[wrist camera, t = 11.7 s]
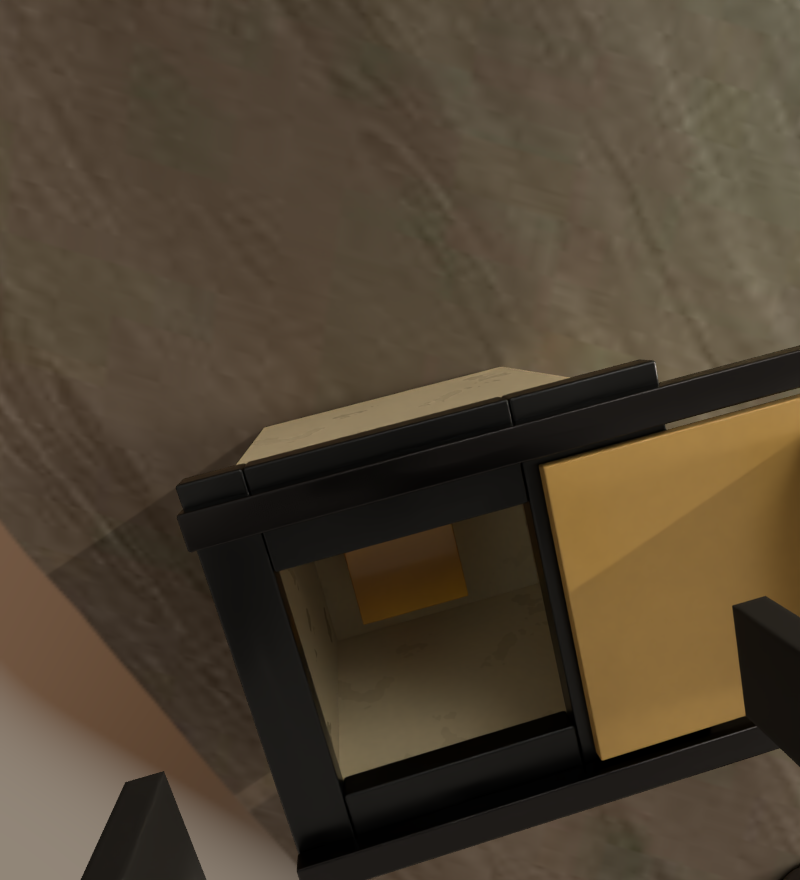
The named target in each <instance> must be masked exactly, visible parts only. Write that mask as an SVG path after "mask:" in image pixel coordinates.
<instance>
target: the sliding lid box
mask: <svg viewBox="0 0 800 880" xmlns="http://www.w3.org/2000/svg"><path fill="white" fill-rule="evenodd" d="M796 388H800V345H799V346H796V347H792V348H788V349H784V350H781V351H777V352H773V353H769V354H765V355H762V356H758V357H754V358H750V359H747V360H743V361H739V362H735V363H732V364H728V365H724V366H720V367H716V368H713V369H709V370H705V371H701V372H698V373H694V374H690V375H686V376H683V377H679V378H675V379H671V380H667V381H664V382H660V383H659V382H658V376H657V369H656V363H655V361H652V360H636V361H632V362H628V363H624V364H621V365H617V366H613V367H609V368H605V369H602V370H598V371H594V372H590V373H586V374H582V375H579V376H575V377H571V378H569V377H563V376H557V375H550V374H544V373H538V372H531V371H525V370H519V369H513V368H506V367H497V368H494V369H490V370H486V371H482V372H478V373H474V374H470V375H466V376H462V377H459V378H455V379H451V380H447V381H443V382H439V383H435V384H431V385H428V386H424V387H420V388H416V389H412V390H408V391H404V392H400V393H397V394H393V395H389V396H385V397H381V398H377V399H373V400H369V401H365V402H362V403H358V404H354V405H350V406H346V407H342V408H338V409H334V410H331V411H327V412H323V413H319V414H315V415H311V416H307V417H303V418H300V419H296V420H292V421H288V422H284V423H280V424H276V425H272V426H268V427H265V428H264V429H263V430H262V431H261V433H260V434H259V435H258V437H257V438H256V439H255V440H254V442H253V443H252V444H251V446H250V447H249V448H248V450H247V451H246V452H245V453H244V455H243V456H242V457H241V459H240V460H239V461H238V463H237V464H236V465H234V466H230V467H227V468H223V469H219V470H215V471H211V472H208V473H204V474H200V475H196V476H192V477H188V478H185V479H183V480H182V481H181V482H180V483H179V484H178V485H177V486H176V490H177V493H178V496H179V499H180V502H181V505H182V508H183V510H182V511H181V512H180V513H179V514H178V515H177V520H178V523H179V526H180V529H181V532H182V535H183V538H184V541H185V544H186V546H187V549H188V551H189V552H195V551H197V553H198V556H199V559H200V562H201V565H202V568H203V571H204V574H205V577H206V580H207V583H208V586H209V589H210V592H211V595H212V598H213V600H214V603H215V606H216V609H217V612H218V615H219V618H220V621H221V624H222V627H223V630H224V633H225V636H226V639H227V642H228V645H229V648H230V651H231V654H232V657H233V660H234V663H235V666H236V669H237V672H238V675H239V678H240V681H241V684H242V687H243V690H244V693H245V696H246V699H247V702H248V705H249V708H250V711H251V714H252V717H253V720H254V723H255V726H256V729H257V732H258V735H259V738H260V741H261V744H262V747H263V749H264V752H265V755H266V758H267V761H268V764H269V767H270V770H271V773H272V776H273V779H274V782H275V785H276V788H277V791H278V794H279V797H280V800H281V803H282V806H283V809H284V812H285V815H286V818H287V821H288V824H289V827H290V830H291V833H292V836H293V839H294V842H295V845H296V848H297V851H298V861H297V873H298V877H299V880H368V879H371V878H374V877H377V876H380V875H384V874H387V873H390V872H393V871H396V870H399V869H402V868H406V867H409V866H412V865H415V864H418V863H421V862H424V861H427V860H431V859H434V858H437V857H440V856H443V855H446V854H449V853H453V852H456V851H459V850H462V849H465V848H468V847H471V846H475V845H478V844H481V843H484V842H487V841H490V840H493V839H496V838H500V837H503V836H506V835H509V834H512V833H515V832H518V831H522V830H525V829H528V828H531V827H534V826H537V825H540V824H543V823H547V822H550V821H553V820H556V819H559V818H562V817H565V816H569V815H572V814H575V813H578V812H581V811H584V810H587V809H591V808H594V807H597V806H600V805H603V804H606V803H609V802H612V801H616V800H619V799H622V798H625V797H628V796H631V795H634V794H638V793H641V792H644V791H647V790H650V789H653V788H656V787H659V786H663V785H666V784H669V783H672V782H675V781H678V780H681V779H685V778H688V777H691V776H694V775H697V774H700V773H703V772H707V771H710V770H713V769H716V768H719V767H722V766H725V765H728V764H732V763H735V762H738V761H741V760H744V759H747V758H750V757H754V756H757V755H760V754H763V753H766V752H769V751H772V750H775V749H779V747H778V746H777V745H776V744H775V743H774V742H773V741H772V740H771V739H770V738H769V737H768V736H767V735H766V734H764V733H763V732H762V731H761V730H760V729H759V728H758V727H757V726H756V725H755V724H754V723H753V722H752V721H751V720H750V719H749V718H747V717H746V716H743V717H740V718H737V719H734V720H731V721H727V722H724V723H721V724H718V725H715V726H711V727H708V728H705V729H702V730H699V731H695V732H692V733H689V734H686V735H683V736H679V737H676V738H673V739H670V740H667V741H664V742H660V743H657V744H654V745H651V746H648V747H644V748H641V749H638V750H635V751H632V752H628V753H625V754H622V755H619V756H616V757H612V758H609V759H606V760H601V759H600V757H599V756H598V754H597V753H596V749H595V744H594V739H593V734H592V729H591V725H590V720H589V715H588V710H587V705H586V700H585V695H584V690H583V685H582V680H581V675H580V670H579V665H578V660H577V655H576V650H575V645H574V640H573V635H572V630H571V625H570V620H569V615H568V610H567V605H566V600H565V595H564V590H563V585H562V580H561V575H560V570H559V565H558V560H557V555H556V550H555V545H554V540H553V535H552V530H551V525H550V520H549V515H548V510H547V505H546V500H545V495H544V490H543V485H542V480H541V475H540V470H539V465H540V464H543V463H547V462H551V461H554V460H558V459H562V458H565V457H569V456H573V455H576V454H580V453H584V452H587V451H591V450H595V449H599V448H602V447H606V446H610V445H613V444H617V443H621V442H624V441H628V440H632V439H635V438H639V437H643V436H646V435H650V434H654V433H657V432H661V431H665V430H666V428H665V424H667V423H671V422H674V421H678V420H682V419H685V418H689V417H693V416H697V415H700V414H704V413H708V412H711V411H715V410H719V409H722V408H726V407H730V406H733V405H737V404H741V403H745V402H748V401H752V400H756V399H759V398H763V397H767V396H770V395H774V394H778V393H781V392H785V391H789V390H793V389H796ZM448 524H452V525H453V529H454V533H455V538H456V542H457V546H458V551H459V555H460V559H461V564H462V568H463V572H464V577H465V581H466V585H467V590H468V596H466V597H462V598H459V599H455V600H452V601H448V602H445V603H441V604H437V605H434V606H430V607H427V608H423V609H420V610H416V611H413V612H409V613H406V614H402V615H398V616H395V617H391V618H388V619H384V620H381V621H377V622H374V623H370V624H366V625H364V624H363V622H362V619H361V615H360V611H359V608H358V604H357V600H356V597H355V593H354V589H353V586H352V582H351V579H350V575H349V571H348V568H347V564H346V560H345V557H344V553H347V552H351V551H354V550H358V549H362V548H365V547H369V546H372V545H376V544H380V543H383V542H387V541H390V540H394V539H398V538H401V537H405V536H409V535H412V534H416V533H419V532H423V531H427V530H430V529H434V528H438V527H441V526H445V525H448Z"/></svg>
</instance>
